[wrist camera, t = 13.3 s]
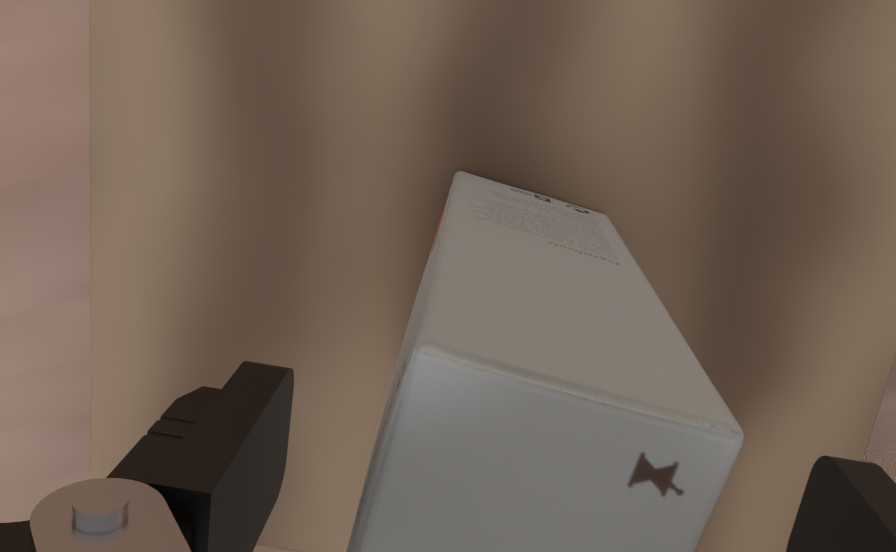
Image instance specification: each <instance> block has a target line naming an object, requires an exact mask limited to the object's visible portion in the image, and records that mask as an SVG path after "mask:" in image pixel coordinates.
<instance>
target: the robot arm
mask: <svg viewBox="0 0 896 552" xmlns="http://www.w3.org/2000/svg"><path fill="white" fill-rule="evenodd" d="M293 390H294V371H293V369H292V368H287V367H281V366H275V365H269V364H263V363H256V362H250V361H244V362H242V364H241V365H240V366H239V367H238V369H237V370H236V371H235V372H234V374H233V375H232V376H231V378H230V379H229V380H228V381H227V383H226V384H225V385H224V386H223V388H222V389H219V388H212V387H206V386H202V387H200V388H198V389H196V390H194V391H192V392H190V393H188V394H185V395H183V396H181V397H179V398H177V399H176V400H175V401H174V402H173V403H172V404H171V405H170V406H169V408H168V409H167V410H166V411H165V412H164V413H163V414H162V415H161V417H160V420H157V421H156V422H155V423H154V424H153V426H152V427H151V428H150V429H149V430H148V431H147V435H144V436H143V437H142V438H141V439H140V440H139V441H138V442H137V443H136V445H135V446H134V447H133V448H132V449H131V450H130V451H129V452H128V454H127V455H126V456H125V457H124V458H123V459H122V460H121V461H120V463H119V464H118V465H117V466H116V467H115V468H114V469H113V470H112V472H111V473H110V474H109V475H108V476H107V477H106V478H98V479H91V480H85V481H81V482H77V483H73V484H70V485H67V486H65V487H62V488H60V489H58V490H56V491H54V492H52V493H51V494H49V495H47V496H46V497H45V498H44V499H42V500H41V501H40V502H39V503H38V504H37V505H36V507H35V508H34V510H33V512H32V513H31V517H30V520H29V521H22V522H12V523H0V552H253V549H254V547H255V545H256V543H257V541H258V539H259V537H260V535H261V533H262V531H263V528H264V526H265V524H266V522H267V520H268V518H269V516H270V514H271V512H272V510H273V507H274V505H275V503H276V501H277V498H278V496H279V493H280V489H281V486H282V482H283V477H284V473H285V467H286V460H287V450H288V440H289V430H290V420H291V410H292V400H293ZM786 552H896V484H895V483H894V481H893V480H892V479H891V478H890V477H889V476H888V475H887V474H886V472H885V471H884V470H883V469H882V468H881V467H880V466H879V465H877V464H875V463H869V462H863V461H857V460H851V459H844V458H838V457H832V456H826V455H825V456H821V457H820V458H818V459H817V460H816V462H815V463H814V465H813V467H812V469H811V472H810V475H809V478H808V481H807V484H806V487H805V491H804V494H803V497H802V500H801V503H800V506H799V509H798V512H797V516H796V519H795V522H794V525H793V528H792V531H791V534H790V537H789V540H788V544H787V549H786Z"/></svg>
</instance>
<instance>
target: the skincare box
mask: <svg viewBox="0 0 896 552" xmlns="http://www.w3.org/2000/svg"><path fill="white" fill-rule="evenodd" d="M743 439H744V435H743V431H742V429H741V427H740V426H739V424H738V423H737V421H736V420H735V418H734V416H733V415H732V413H731V412H730V410H729V408H728V407H727V405H726V404H725V402H724V401H723V399H722V397H721V396H720V394H719V393H718V391H717V390H716V388H715V387H714V386H713V384H712V382H711V381H710V379H709V377H708V376H707V374H706V372H705V371H704V369H703V368H702V366H701V365H700V363H699V361H698V360H697V358H696V357H695V355H694V353H693V352H692V350H691V349H690V347H689V345H688V344H687V342H686V340H685V339H684V337H683V336H682V334H681V332H680V331H679V329H678V328H677V326H676V325H675V323H674V322H673V320H672V318H671V317H670V315H669V313H668V312H667V310H666V309H665V307H664V305H663V304H662V302H661V301H660V299H659V297H658V296H657V294H656V292H655V291H654V289H653V288H652V286H651V284H650V283H649V281H648V280H647V278H646V277H645V275H644V273H643V272H642V270H641V269H640V267H639V266H638V264H637V262H636V261H635V259H634V258H633V256H632V255H631V253H630V252H629V250H628V248H627V246H626V245H625V243H624V241H623V240H622V239H621V237H620V235H619V234H618V232H617V230H616V229H615V227H614V226H613V224H612V223H611V221H610V220H609V218H608V216H607V215H605V214H602V213H599V212H595V211H592V210H589V209H585V208H582V207H579V206H576V205H572V204H569V203H566V202H563V201H560V200H557V199H554V198H551V197H547V196H544V195H540V194H537V193H533V192H530V191H526V190H523V189H519V188H516V187H512V186H509V185H506V184H502V183H499V182H496V181H492V180H489V179H486V178H482V177H479V176H476V175H473V174H470V173H467V172H464V171H458V172H456V174H455V175H454V178H453V181H452V185H451V188H450V191H449V195H448V198H447V201H446V204H445V207H444V210H443V214H442V217H441V220H440V223H439V226H438V229H437V232H436V235H435V239H434V242H433V245H432V248H431V251H430V255H429V258H428V261H427V264H426V267H425V270H424V274H423V277H422V280H421V283H420V286H419V290H418V293H417V296H416V299H415V302H414V305H413V309H412V312H411V316H410V319H409V322H408V326H407V329H406V332H405V336H404V339H403V343H402V346H401V350H400V353H399V357H398V360H397V364H396V367H395V371H394V375H393V378H392V382H391V385H390V389H389V393H388V396H387V400H386V404H385V407H384V411H383V415H382V418H381V422H380V426H379V429H378V433H377V437H376V440H375V444H374V448H373V451H372V455H371V459H370V462H369V466H368V470H367V474H366V477H365V481H364V485H363V489H362V493H361V496H360V500H359V504H358V508H357V512H356V515H355V519H354V523H353V527H352V531H351V535H350V538H349V542H348V546H347V550H346V552H694V551H695V549H696V547H697V544H698V542H699V539H700V537H701V534H702V531H703V529H704V527H705V525H706V523H707V521H708V519H709V517H710V515H711V513H712V510H713V508H714V506H715V504H716V502H717V500H718V498H719V495H720V493H721V491H722V489H723V487H724V484H725V482H726V480H727V478H728V476H729V473H730V471H731V469H732V467H733V465H734V462H735V460H736V458H737V456H738V454H739V452H740V449H741V447H742V445H743Z"/></svg>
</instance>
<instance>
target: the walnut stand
mask: <svg viewBox="0 0 896 552" xmlns="http://www.w3.org/2000/svg"><path fill="white" fill-rule="evenodd" d="M458 171H464V172H467V173H470V174H473V175H476V176H479V177H482V178H486V179H489V180H492V181H496V182H499V183H502V184H506V185H509V186H512V187H516V188H519V189H523V190H526V191H530V192H533V193H537V194H540V195H544V196H547V197H551V198H554V199H557V200H560V201H563V202H566V203H569V204H572V205H576V206H579V207H582V208H585V209H589V210H592V211H595V212H599V213H602V214H605V215H607V216H608V218H609V220H610V221H611V223H612V224H613V226H614V227H615V229H616V230H617V232H618V234H619V235H620V237H621V239H622V240H623V241H624V243H625V245H626V246H627V248H628V250H629V252H630V253H631V255H632V256H633V258H634V259H635V261H636V262H637V264H638V266H639V267H640V269H641V270H642V272H643V273H644V275H645V277H646V278H647V280H648V281H649V283H650V284H651V286H652V288H653V289H654V291H655V292H656V294H657V296H658V297H659V299H660V301H661V302H662V304H663V305H664V307H665V309H666V310H667V312H668V313H669V315H670V317H671V318H672V320H673V322H674V323H675V325H676V326H677V328H678V329H679V331H680V332H681V334H682V336H683V337H684V339H685V340H686V342H687V344H688V345H689V347H690V349H691V350H692V352H693V353H694V355H695V357H696V358H697V360H698V361H699V363H700V365H701V366H702V368H703V369H704V371H705V372H706V374H707V376H708V377H709V379H710V381H711V382H712V384H713V386H714V387H715V388H716V390H717V391H718V393H719V394H720V396H721V397H722V399H723V401H724V402H725V404H726V405H727V407H728V408H729V410H730V412H731V413H732V415H733V416H734V418H735V420H736V421H737V423H738V424H739V426H740V427H741V429H742V431H743V435H744V439H743V445H742V447H741V449H740V452H739V454H738V456H737V458H736V460H735V462H734V465H733V467H732V469H731V471H730V473H729V476H728V478H727V480H726V482H725V484H724V487H723V489H722V491H721V493H720V495H719V498H718V500H717V502H716V504H715V506H714V508H713V510H712V513H711V515H710V517H709V519H708V521H707V523H706V525H705V527H704V529H703V531H702V534H701V537H700V539H699V542H698V544H697V547H696V549H695V551H694V552H786V549H787V544H788V540H789V537H790V534H791V531H792V528H793V525H794V522H795V519H796V516H797V512H798V509H799V506H800V503H801V500H802V497H803V494H804V491H805V487H806V484H807V481H808V478H809V475H810V472H811V469H812V467H813V465H814V463H815V462H816V460H817V459H818V458H820V457H821V456H825V455H826V456H832V457H838V458H844V459H851V460H857V461H862V460H863V457H864V453H865V450H866V447H867V444H868V441H869V438H870V435H871V432H872V428H873V425H874V422H875V419H876V416H877V413H878V410H879V407H880V403H881V400H882V397H883V394H884V391H885V388H886V385H887V382H888V379H889V375H890V372H891V369H892V366H893V363H894V360H895V357H896V0H90V266H91V479H98V478H106V477H107V476H108V475H109V474H110V473H111V472H112V470H113V469H114V468H115V467H116V466H117V465H118V464H119V463H120V461H121V460H122V459H123V458H124V457H125V456H126V455H127V454H128V452H129V451H130V450H131V449H132V448H133V447H134V446H135V445H136V443H137V442H138V441H139V440H140V439H141V438H142V437H143V436H144V435H147V431H148V430H149V429H150V428H151V427H152V426H153V424H154V423H155V422H156V421H157V420H160V417H161V415H162V414H163V413H164V412H165V411H166V410H167V409H168V408H169V406H170V405H171V404H172V403H173V402H174V401H175V400H176V399H177V398H179V397H181V396H183V395H185V394H188V393H190V392H192V391H194V390H196V389H198V388H200V387H202V386H206V387H212V388H219V389H222V388H223V386H224V385H225V384H226V383H227V381H228V380H229V379H230V378H231V376H232V375H233V374H234V372H235V371H236V370H237V369H238V367H239V366H240V365H241V364H242V362H244V361H250V362H256V363H263V364H269V365H275V366H281V367H287V368H292V369H293V371H294V390H293V400H292V410H291V420H290V430H289V440H288V450H287V460H286V467H285V473H284V477H283V482H282V486H281V489H280V493H279V496H278V498H277V501H276V503H275V505H274V507H273V510H272V512H271V514H270V516H269V518H268V520H267V522H266V524H265V526H264V528H263V531H262V533H261V535H260V537H259V539H258V541H257V543H256V545H258V546H266V547H273V548H280V549H287V550H295V551H302V552H346V550H347V546H348V542H349V538H350V535H351V531H352V527H353V523H354V519H355V515H356V512H357V508H358V504H359V500H360V496H361V493H362V489H363V485H364V481H365V477H366V474H367V470H368V466H369V462H370V459H371V455H372V451H373V448H374V444H375V440H376V437H377V433H378V429H379V426H380V422H381V418H382V415H383V411H384V407H385V404H386V400H387V396H388V393H389V389H390V385H391V382H392V378H393V375H394V371H395V367H396V364H397V360H398V357H399V353H400V350H401V346H402V343H403V339H404V336H405V332H406V329H407V326H408V322H409V319H410V316H411V312H412V309H413V305H414V302H415V299H416V296H417V293H418V290H419V286H420V283H421V280H422V277H423V274H424V270H425V267H426V264H427V261H428V258H429V255H430V251H431V248H432V245H433V242H434V239H435V235H436V232H437V229H438V226H439V223H440V220H441V217H442V214H443V210H444V207H445V204H446V201H447V198H448V195H449V191H450V188H451V185H452V181H453V178H454V175H455V174H456V172H458Z"/></svg>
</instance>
